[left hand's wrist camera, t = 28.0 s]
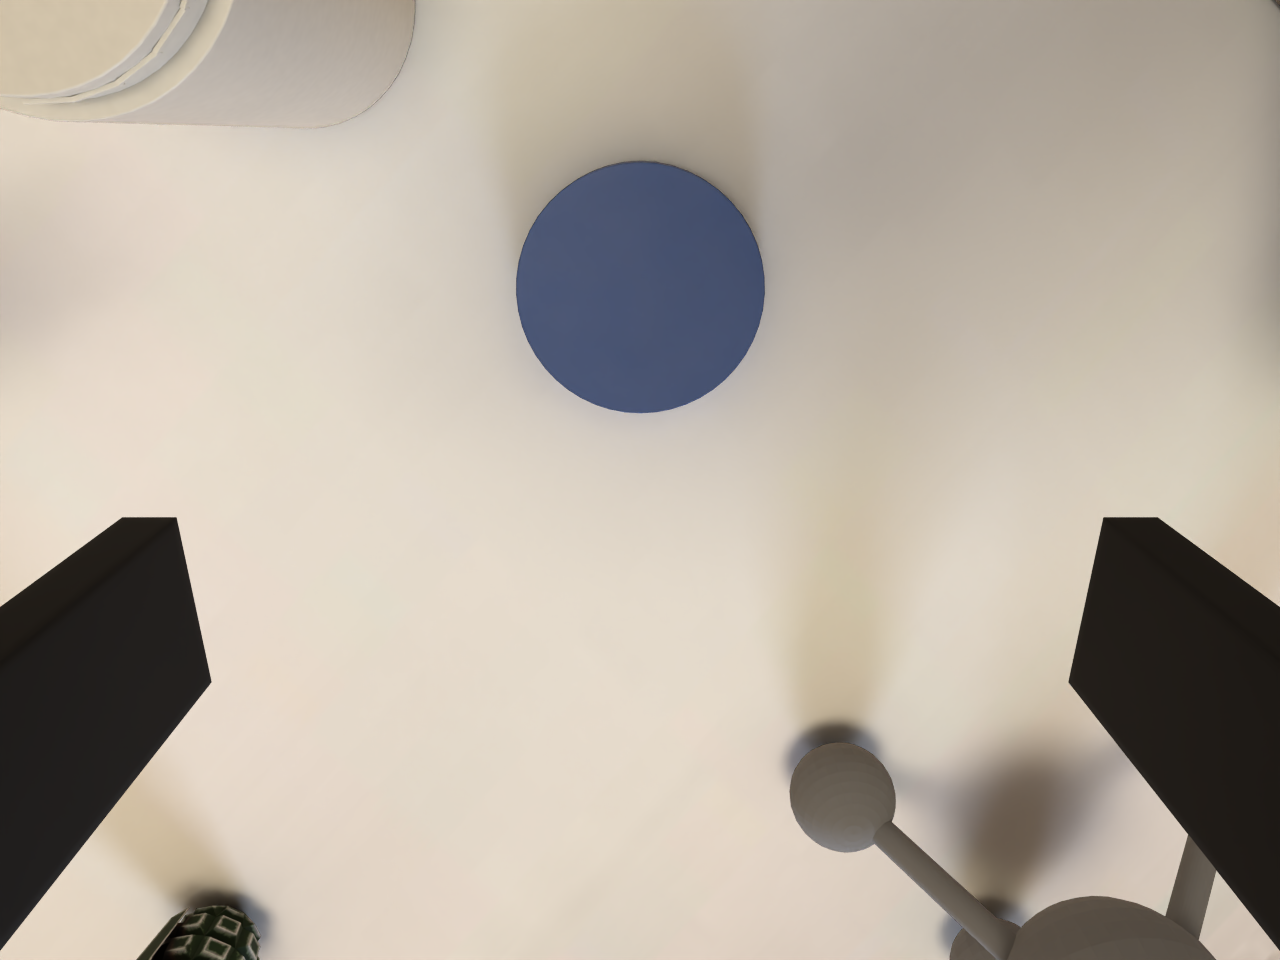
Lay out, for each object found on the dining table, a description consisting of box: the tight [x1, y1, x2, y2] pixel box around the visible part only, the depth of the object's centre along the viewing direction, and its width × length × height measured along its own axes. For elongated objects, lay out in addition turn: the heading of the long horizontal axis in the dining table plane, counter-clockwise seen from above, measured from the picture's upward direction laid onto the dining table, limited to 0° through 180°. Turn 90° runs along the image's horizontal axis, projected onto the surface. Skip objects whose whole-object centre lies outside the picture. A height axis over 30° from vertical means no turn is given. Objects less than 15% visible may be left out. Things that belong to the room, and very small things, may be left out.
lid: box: [516, 161, 765, 413], centre depth 38 cm, size 11×11×2 cm
